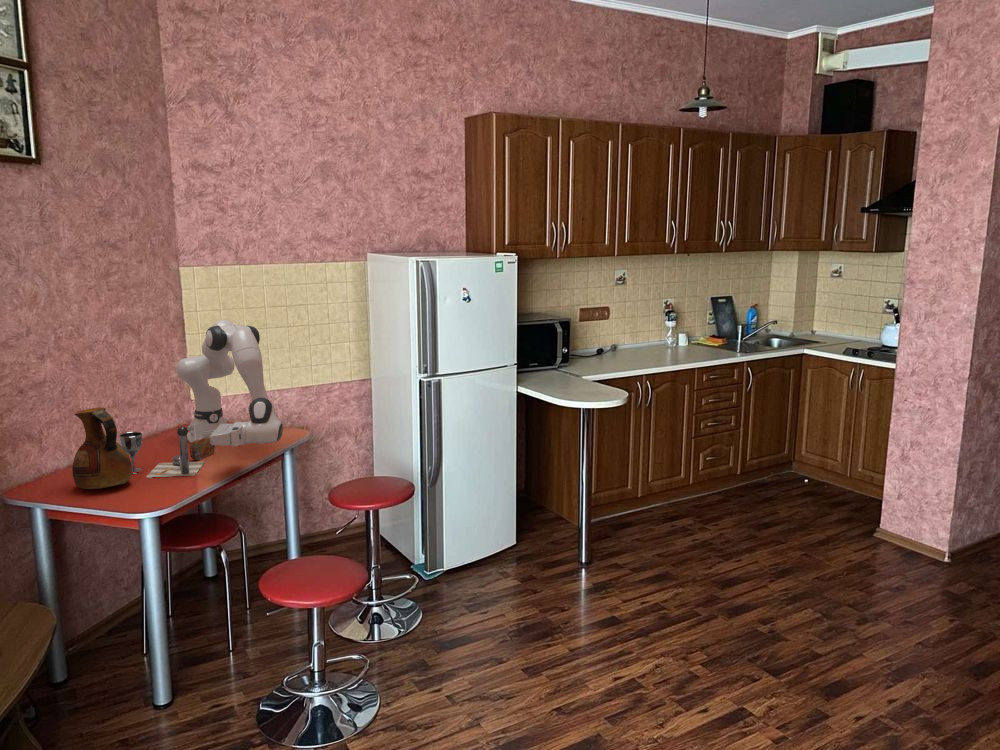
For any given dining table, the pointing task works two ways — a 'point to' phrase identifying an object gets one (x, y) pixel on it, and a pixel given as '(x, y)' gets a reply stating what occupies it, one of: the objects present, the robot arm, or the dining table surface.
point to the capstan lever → (182, 450)
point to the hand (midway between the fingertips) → (202, 434)
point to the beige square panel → (174, 470)
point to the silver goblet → (131, 445)
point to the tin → (201, 448)
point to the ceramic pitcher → (100, 453)
